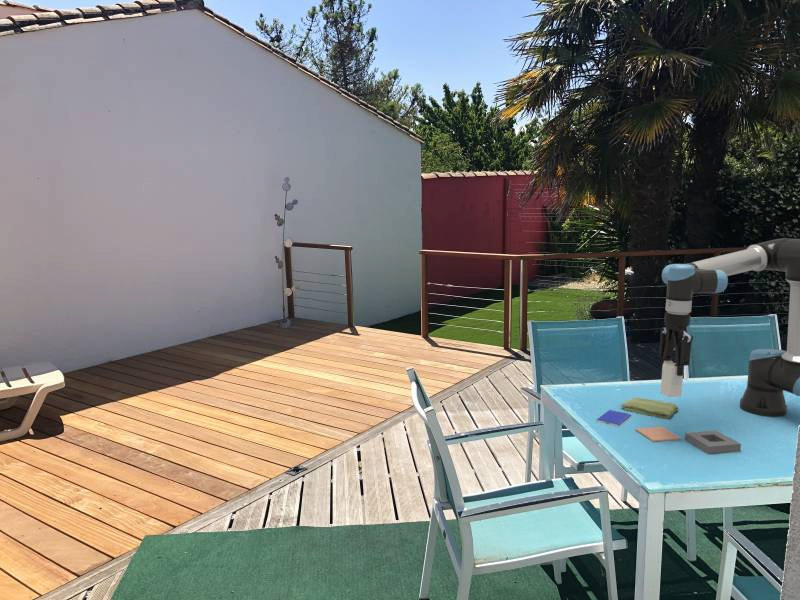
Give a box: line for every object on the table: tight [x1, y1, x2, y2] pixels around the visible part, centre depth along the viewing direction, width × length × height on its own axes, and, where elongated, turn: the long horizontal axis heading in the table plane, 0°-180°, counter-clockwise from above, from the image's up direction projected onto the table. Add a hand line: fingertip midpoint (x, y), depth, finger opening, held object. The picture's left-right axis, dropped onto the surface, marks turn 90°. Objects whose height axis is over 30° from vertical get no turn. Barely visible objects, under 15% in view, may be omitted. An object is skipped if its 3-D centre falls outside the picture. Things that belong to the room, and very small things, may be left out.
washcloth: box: [620, 397, 679, 420], centre depth 223 cm, size 13×18×3 cm
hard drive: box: [595, 409, 632, 428], centre depth 215 cm, size 2×8×12 cm
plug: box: [660, 362, 685, 398], centre depth 195 cm, size 4×4×10 cm
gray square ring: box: [684, 429, 742, 455], centre depth 192 cm, size 11×11×2 cm
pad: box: [635, 426, 681, 443], centre depth 200 cm, size 10×10×1 cm
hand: (671, 382), depth 195 cm, fingers closed on plug, 4 cm apart
